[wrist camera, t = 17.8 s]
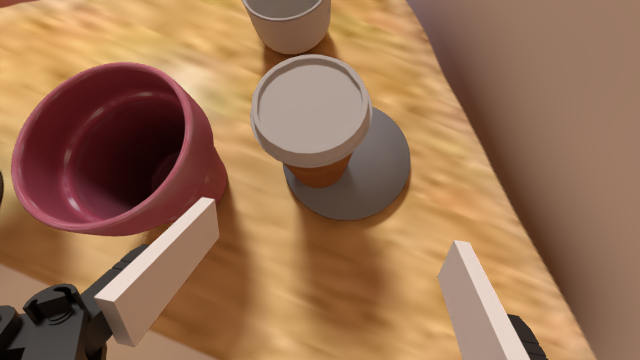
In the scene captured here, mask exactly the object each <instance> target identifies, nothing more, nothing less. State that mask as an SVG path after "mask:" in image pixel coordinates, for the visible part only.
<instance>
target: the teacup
mask: <svg viewBox="0 0 640 360" xmlns="http://www.w3.org/2000/svg"><path fill="white" fill-rule="evenodd" d="M242 2H243V4H244V6H245V8H246V9H247V12H248V14H249V17H250V19H251V21H252V23H253V26H254V28H255V30H256V32H257V34H258V35H259V37H260V38H261V40H262V41H263V42H264V43H265V44H266V45H267V46H268V47H269V48H271V49H272V50H274V51H276V52H279V53H283V54H299V53H303V52H306V51H308V50H310V49H312V48H313V47H315V46H316V45H317V44H318V43H319V42H320V41H321V40H322V39H323V37H324V36H325V34H326V32H327V30H328V27H329V23H330V14H331V0H242Z"/></svg>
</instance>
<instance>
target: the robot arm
mask: <svg viewBox="0 0 640 360" xmlns="http://www.w3.org/2000/svg"><path fill="white" fill-rule="evenodd" d="M1 192H2V178H1V173H0V197H1ZM219 237H220V236H219V228H218V221H217V213H216V205H215V199H210V198H204V197H202V198H201V199H200V200H199V201H197V202H196V203H195V204H194V205H193V206H192V207H191V208H190V209H189V210H188V211H187V212H186V213H184V214H183V215H182V216H181V217H180V218H179V219H178V220H177V221H176V222H175V223H174V224H173V225H171V226H170V227H169V228H168V229H167V230H166V231H165V232H164V233H163V234H162V235H161V236H160V237H159V238H157V239H156V240H155V241H154V242H153V243H152V244H151V245H145V244H143V245H141V246H139V247H137V248H135V249H134V250H132V251H130V252H129V253H128V254H127V255H126V256H124V257H123V258H122V259H121V261H120V262H118V263H116V264H115V265H114V266H113V267H112V269H110V270H108V271H107V272H106V273H105V274H104V275H103V276H102V277H100V278H99V279H98V280H97V281H96V282H95V283H93V284H92V285H91V286H90V287H89V288H88V289H87V290H85V291H84V292H83V293H82V294H81V295H80V294H79V292H78V290H77V289H76V287H75V286H73V285H72V284H59V285H54V286H52V287H49V288H46V289H44V290H42V291H41V292H39V293H37V294H35V295H34V296H33V297H32V298H31V299H30V300H28V301H27V302H26V304H25V305H24V307H23V310H24V311H25V312H26V314H18V313H17V311H16V310H15V309H14V308H13V307H11V306H0V360H106V354H107V345H106V341H107V340H108V339H109V338H110V337H111V336H112V335H113V336H114V338H115V340H116V342H117V343H119V344H124V345H128V346H132V347H135V346H136V345H137V344H138V342H139V341H140V340H141V338H142V337H143V336H144V334H145V333H146V332H147V331H148V329H149V328H150V327H151V325H152V324H153V323H154V321H155V320H156V319H157V318H158V316H159V315H160V314H161V312H162V311H163V310H164V308H165V307H166V306H167V304H168V303H169V302H170V301H171V299H172V298H173V297H174V295H175V294H176V293H177V291H178V290H179V289H180V288H181V286H182V285H183V284H184V282H185V281H186V280H187V278H188V277H189V276H190V275H191V273H192V272H193V271H194V269H195V268H196V267H197V265H198V264H199V263H200V262H201V260H202V259H203V258H204V256H205V255H206V254H207V252H208V251H209V250H210V248H211V247H212V246H213V245H214V243H215V242H216V241H217V239H218V238H219ZM438 280H439V283H440V287H441V290H442V293H443V297H444V300H445V303H446V306H447V310H448V313H449V316H450V319H451V323H452V326H453V329H454V332H455V336H456V339H457V342H458V345H459V349H460V352H461V355H462V359H463V360H548V359H547V358H546V355H545V353H544V351H543V350H542V348H541V347H540V346H539V343H538V341H537V339H536V338H535V336H534V334H533V332H532V331H531V329H530V328H529V327H528V326H527V325H526V324H525V323H524V322H523V321H522V319H521V318H520V317H519V316H515V315H510V314H506V312H505V310H504V308H503V306H502V304H501V303H500V301H499V299H498V297H497V295H496V293H495V291H494V289H493V287H492V285H491V283H490V281H489V280H488V278H487V276H486V274H485V272H484V270H483V268H482V266H481V264H480V262H479V260H478V258H477V256H476V255H475V253H474V251H473V249H472V247H471V245H470V243H469V242H463V241H457V240H454V241H453V243H452V245H451V247H450V250H449V252H448V254H447V256H446V259H445V261H444V263H443V265H442V268H441V270H440V272H439V275H438Z"/></svg>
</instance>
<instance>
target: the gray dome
mask: <svg viewBox="0 0 640 360" xmlns="http://www.w3.org/2000/svg"><path fill="white" fill-rule="evenodd" d="M283 168H284V173H285V176H286V180H287V182H288V184H289V186H290V188H291V190H292V191H293V193H294V194H295V196H296V197H297V198H298V199H299V200H300V202H301V203H303V204H304V205H305V206H306V207H307V208H309V209H310V210H312V211H313V212H315V213H317V214H319V215H321V216H323V217H326V218H329V219H334V220H342V221H351V220H359V219H364V218H367V217H370V216H373V215H375V214H377V213H378V212H380V211H382V210H383V209H385V208H386V207H387V206H388V205H389V204H391V203H392V202H393V201H394V200H395V199H396V197H397V196H398V195H399V194H400V192H401V191H402V189H403V187H404V186H405V183H406V181H407V178H408V174H409V170H410V152H409V147H408V144H407V141H406V138H405V136H404V134H403V132H402V131H401V129H400V128H399V126H398V125H397V124H396V123H395V122H394V121H393V120H392V119H391V118H390V117H389V116H388V115H386V114H385V113H383V112H382V111H380V110H378V109H377V108H375V107H372V120H371V125H370V127H369V130H368V133H367V135H366V136H365V138H364V140H363V142H362V143H361V144H360V145H359V146H358V147H357V148H356V149H355V150H354V152H353V154H352V156H351V158H350V160H349V162H348V164H347V167H346V169H345V171H344V173H343V175H342V177H341V178H340V179H339V180H338V181H337V182H336V183H334V184H333V185H331V186H329V187H326V188H311V187H309V186H306V185H304V184H303V183H301V182H300V181H299V180H298V179H297V178H296V176H295V175H294V174H293V173H292V172H291V171H290V170H289V169H288V168H287V167H286V166H285V165H284V164H283Z"/></svg>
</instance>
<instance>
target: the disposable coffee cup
mask: <svg viewBox="0 0 640 360" xmlns="http://www.w3.org/2000/svg"><path fill="white" fill-rule="evenodd" d="M250 118H251V127H252V130H253V133H254V136H255V138H256V139H257V141H258V142H259V144H260V145H261V147H262V148H263V149H264V150H265V151H266V152H267V153H268V154H270V155H271V156H272V157H273V158H275V159H276V160H279V161H281V162H282V163H283V164H284V165H285V166H286V167H287V168H288V169H289V170H290V171H291V172H292V173H293V174H294V175H295V176H296V178H297V179H298V180H299V181H300V182H301V183H303V184H304V185H306V186H309V187H311V188H326V187H329V186H331V185H333V184H334V183H336V182H337V181H338V180H339V179H340V178H341V177H342V175H343V173H344V171H345V169H346V167H347V164H348V162H349V160H350V158H351V156H352V154H353V152H354V150H355V149H356V148H357V147H358V146H359V145H360V144H361V143H362V142H363V140H364V138H365V136H366V135H367V133H368V130H369V127H370V125H371V120H372V102H371V99H370V96H369V93H368V91H367V89H366V88H365V85H364V83H363V81H362V79H361V78H360V76H359V75H358V74H357V73H356V71H355V70H354V69H353V68H351V67H350V66H349V65H347V64H346V63H344V62H342V61H340V60H338V59H335V58H332V57H328V56H324V55H316V54H310V55H301V56H297V57H293V58H290V59H287V60H285V61H282V62H281V63H279V64H277V65H276V66H274V67H273V68H272V69H270V70H269V71H268V72H267V73H266V74H265V75H264V76H263V78H262V79H261V80H260V81H259V83H258V85H257V87H256V89H255V91H254V94H253V100H252V107H251V113H250Z"/></svg>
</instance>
